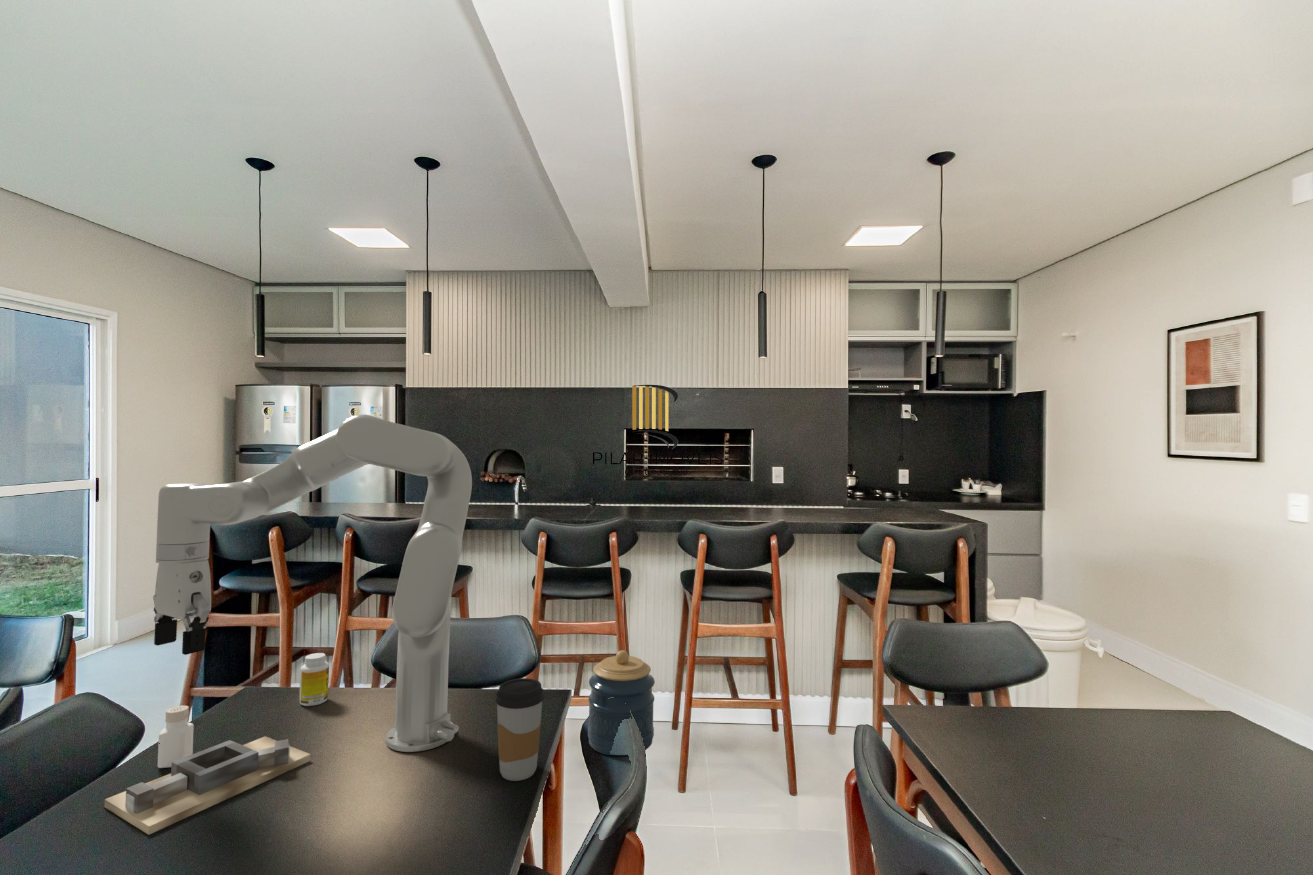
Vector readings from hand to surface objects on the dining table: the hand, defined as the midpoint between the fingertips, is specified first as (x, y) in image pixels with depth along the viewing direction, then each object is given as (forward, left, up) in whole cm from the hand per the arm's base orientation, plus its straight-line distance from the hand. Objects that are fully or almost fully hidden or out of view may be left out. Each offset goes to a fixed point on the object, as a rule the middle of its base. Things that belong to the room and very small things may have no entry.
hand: (179, 647), depth 107 cm
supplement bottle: (+4, -28, -20) cm, 35 cm away
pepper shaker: (0, 0, -20) cm, 21 cm away
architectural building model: (-13, 0, -20) cm, 24 cm away
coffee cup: (-55, -28, -20) cm, 65 cm away
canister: (-65, -46, -21) cm, 82 cm away
